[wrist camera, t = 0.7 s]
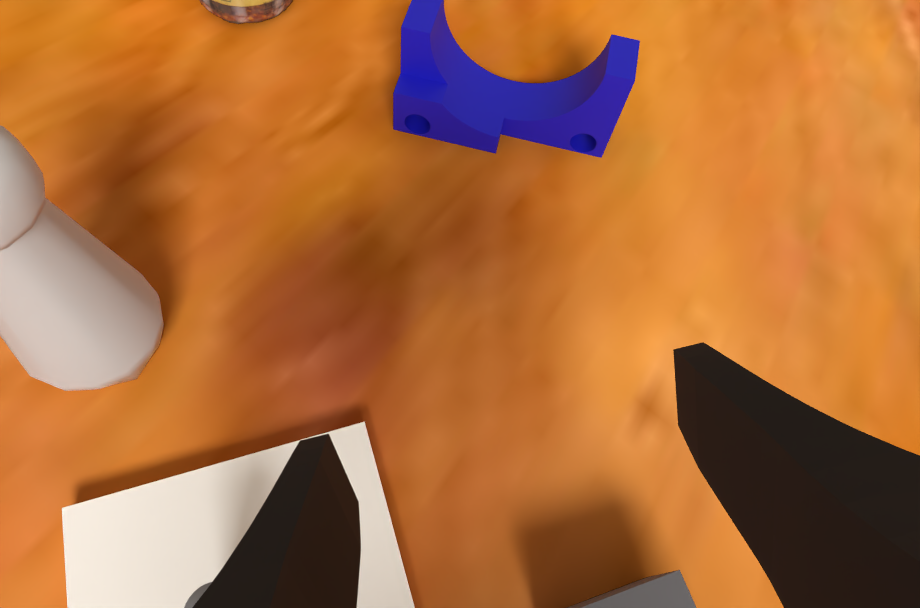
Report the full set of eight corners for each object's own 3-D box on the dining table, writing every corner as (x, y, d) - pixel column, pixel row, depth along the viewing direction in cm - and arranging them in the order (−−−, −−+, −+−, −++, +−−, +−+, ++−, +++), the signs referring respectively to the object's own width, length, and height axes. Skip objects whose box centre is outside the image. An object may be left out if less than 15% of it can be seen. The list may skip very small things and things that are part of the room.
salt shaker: (16, 340, 29) (-233, 143, 17) (133, 268, 31) (-20, 51, 19) (86, 434, 27) (-139, 286, 16) (203, 351, 29) (81, 168, 18)
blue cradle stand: (393, 131, 37) (393, 47, 31) (412, 77, 39) (416, -11, 34) (597, 179, 36) (632, 102, 31) (605, 122, 39) (639, 40, 33)
